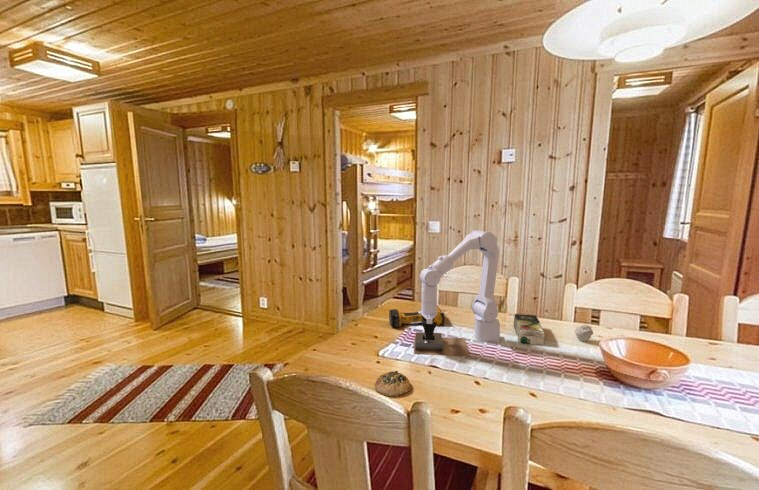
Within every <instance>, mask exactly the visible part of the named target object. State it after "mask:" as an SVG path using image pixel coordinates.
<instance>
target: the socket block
mask: <svg viewBox="0 0 759 490" xmlns="http://www.w3.org/2000/svg"><path fill="white" fill-rule="evenodd" d="M414 336H415V350H418V351H442V352H443V341H442V337H443V336H442V333H441V332H434V333H433V340H425V332H420V331H419V332H418V331H416V332H415V335H414Z"/></svg>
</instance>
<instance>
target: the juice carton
mask: <svg viewBox="0 0 759 490" xmlns="http://www.w3.org/2000/svg"><path fill="white" fill-rule="evenodd" d="M513 328H514V331H515V334H516V336H517V340H518V343H520V344H524V343H525V344H526V343H528V344H530V345H539V344H540V346H541V345H542V346H543V345H545V343H544V342H545V332H544V328H543V327H542V325H541V323H540V320H539V318H538V317H537V315H534V314H520V313H515V314H514V317H513Z"/></svg>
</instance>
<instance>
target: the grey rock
mask: <svg viewBox="0 0 759 490" xmlns="http://www.w3.org/2000/svg"><path fill="white" fill-rule="evenodd" d="M574 333H575V336H576V339H578V340H579V341H580V342H588V341H589V340H590V339H591V338H592V336H593V335H594V331H593V329H592V326H590V325H588V324H581V325H578V326H577V327H575V330H574Z"/></svg>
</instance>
